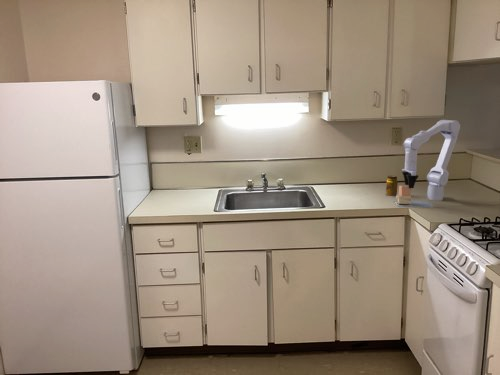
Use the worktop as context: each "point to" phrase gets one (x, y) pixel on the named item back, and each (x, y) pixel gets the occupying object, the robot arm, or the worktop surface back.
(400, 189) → the terracotta block
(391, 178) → the condiment
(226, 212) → the worktop surface
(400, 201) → the block
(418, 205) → the board
